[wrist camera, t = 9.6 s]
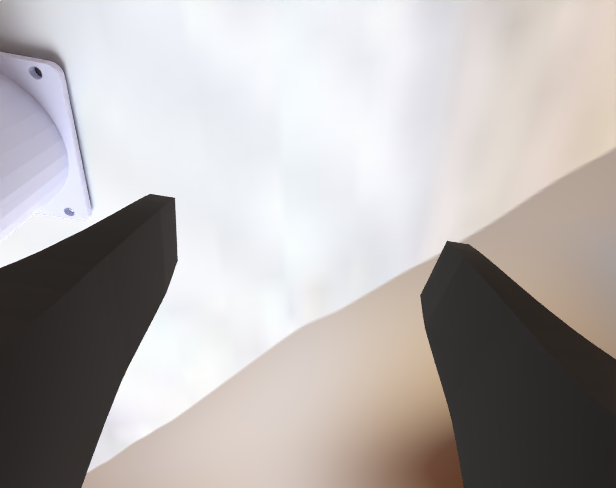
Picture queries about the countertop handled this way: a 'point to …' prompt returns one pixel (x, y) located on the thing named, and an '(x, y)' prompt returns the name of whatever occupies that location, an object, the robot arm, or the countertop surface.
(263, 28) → the countertop surface
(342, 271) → the countertop surface
